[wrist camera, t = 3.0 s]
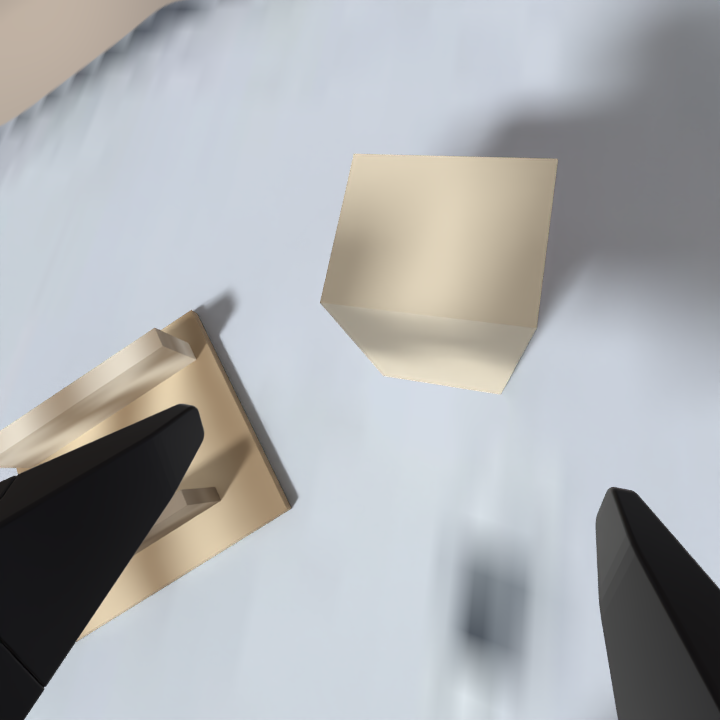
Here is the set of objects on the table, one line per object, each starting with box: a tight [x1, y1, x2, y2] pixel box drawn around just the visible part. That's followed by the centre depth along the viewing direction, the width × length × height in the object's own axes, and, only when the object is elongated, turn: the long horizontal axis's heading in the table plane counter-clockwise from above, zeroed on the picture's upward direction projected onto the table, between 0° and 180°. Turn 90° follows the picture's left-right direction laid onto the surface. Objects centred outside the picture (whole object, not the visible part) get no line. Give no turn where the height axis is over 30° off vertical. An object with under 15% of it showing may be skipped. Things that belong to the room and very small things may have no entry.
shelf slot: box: [0, 310, 291, 642], centre depth 23 cm, size 14×13×4 cm
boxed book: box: [320, 154, 558, 395], centre depth 18 cm, size 6×5×11 cm
